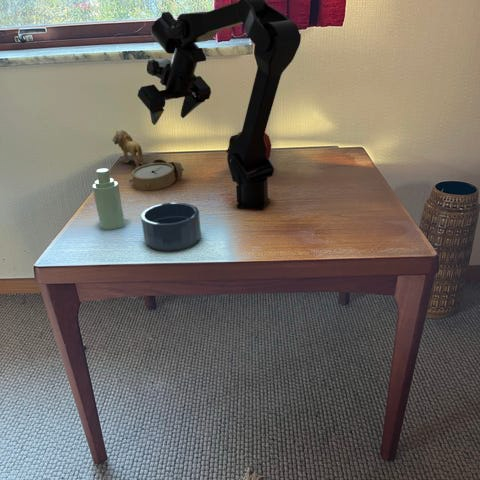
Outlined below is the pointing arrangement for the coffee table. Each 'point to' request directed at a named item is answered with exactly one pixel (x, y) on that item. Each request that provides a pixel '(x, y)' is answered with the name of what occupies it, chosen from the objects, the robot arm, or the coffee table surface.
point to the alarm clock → (156, 175)
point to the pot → (171, 226)
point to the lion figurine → (128, 146)
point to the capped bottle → (108, 201)
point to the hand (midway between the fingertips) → (168, 120)
